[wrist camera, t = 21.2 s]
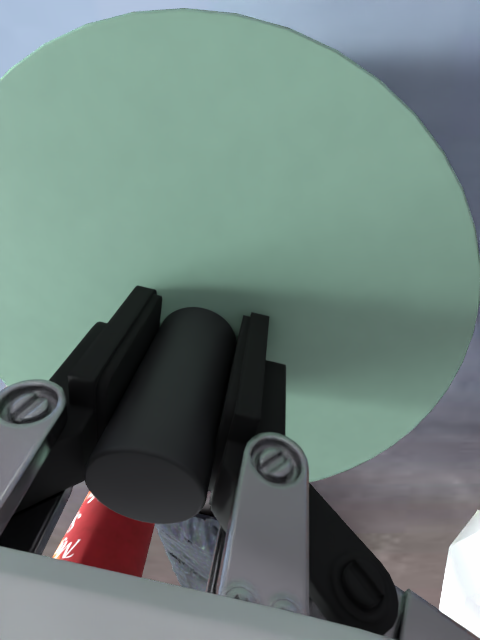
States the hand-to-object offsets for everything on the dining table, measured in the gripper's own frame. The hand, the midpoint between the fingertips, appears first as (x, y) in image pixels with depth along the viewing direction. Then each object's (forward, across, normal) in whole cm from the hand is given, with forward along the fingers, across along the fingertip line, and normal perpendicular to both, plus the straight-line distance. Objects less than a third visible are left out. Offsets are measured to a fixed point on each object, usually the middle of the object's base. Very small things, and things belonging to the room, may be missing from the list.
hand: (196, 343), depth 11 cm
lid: (+1, 0, 0) cm, 1 cm away
